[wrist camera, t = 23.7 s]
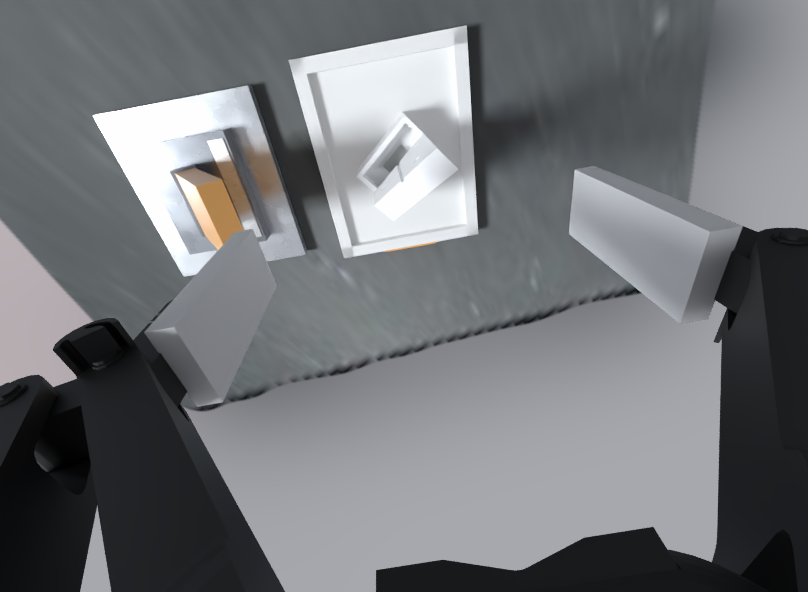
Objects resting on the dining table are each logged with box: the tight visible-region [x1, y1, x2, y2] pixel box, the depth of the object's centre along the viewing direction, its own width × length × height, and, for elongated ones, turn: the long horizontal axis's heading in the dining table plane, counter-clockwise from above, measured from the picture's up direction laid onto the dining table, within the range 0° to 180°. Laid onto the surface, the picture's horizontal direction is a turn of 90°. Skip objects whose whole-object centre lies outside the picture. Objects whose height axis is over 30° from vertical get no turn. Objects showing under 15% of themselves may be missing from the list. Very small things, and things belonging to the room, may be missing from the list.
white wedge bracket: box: [356, 112, 458, 221], centre depth 26 cm, size 4×10×9 cm, turn 138°
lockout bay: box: [289, 25, 478, 258], centre depth 30 cm, size 16×13×1 cm
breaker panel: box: [93, 85, 307, 277], centre depth 30 cm, size 14×12×2 cm
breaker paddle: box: [169, 165, 243, 250], centre depth 25 cm, size 5×2×11 cm
